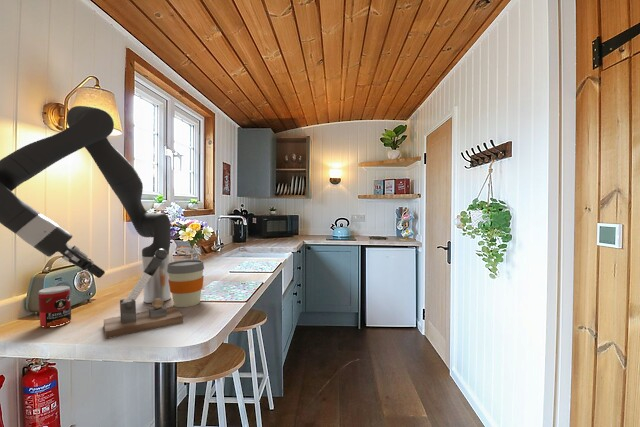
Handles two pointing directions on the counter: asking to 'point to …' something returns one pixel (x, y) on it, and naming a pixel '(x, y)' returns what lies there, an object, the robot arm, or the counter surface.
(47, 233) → the robot arm
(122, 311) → the nutcracker bench
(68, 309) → the canned food
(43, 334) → the counter surface
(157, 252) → the lever
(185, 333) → the counter surface
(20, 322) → the counter surface
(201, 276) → the reusable coffee cup
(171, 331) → the counter surface
